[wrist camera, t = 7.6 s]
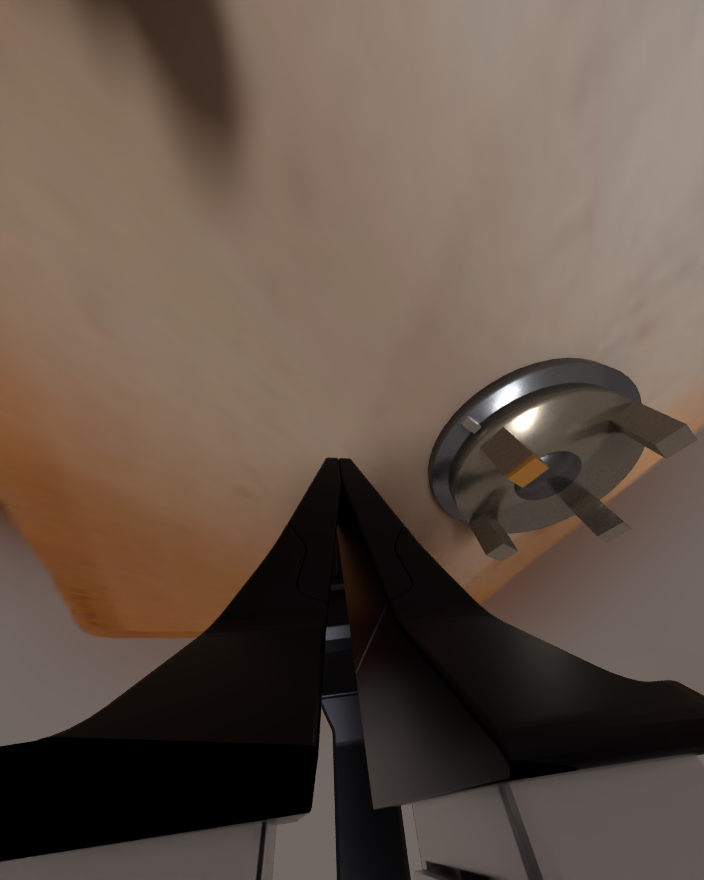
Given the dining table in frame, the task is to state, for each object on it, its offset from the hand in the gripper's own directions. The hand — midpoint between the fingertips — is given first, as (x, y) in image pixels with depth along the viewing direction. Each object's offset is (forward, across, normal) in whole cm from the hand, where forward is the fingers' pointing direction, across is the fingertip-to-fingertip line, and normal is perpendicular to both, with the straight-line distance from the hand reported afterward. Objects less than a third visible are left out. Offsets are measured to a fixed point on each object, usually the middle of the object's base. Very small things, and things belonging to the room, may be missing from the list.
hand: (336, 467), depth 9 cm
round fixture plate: (+11, -21, +8) cm, 25 cm away
